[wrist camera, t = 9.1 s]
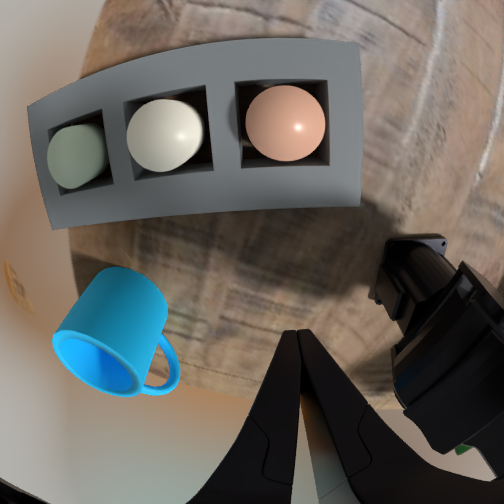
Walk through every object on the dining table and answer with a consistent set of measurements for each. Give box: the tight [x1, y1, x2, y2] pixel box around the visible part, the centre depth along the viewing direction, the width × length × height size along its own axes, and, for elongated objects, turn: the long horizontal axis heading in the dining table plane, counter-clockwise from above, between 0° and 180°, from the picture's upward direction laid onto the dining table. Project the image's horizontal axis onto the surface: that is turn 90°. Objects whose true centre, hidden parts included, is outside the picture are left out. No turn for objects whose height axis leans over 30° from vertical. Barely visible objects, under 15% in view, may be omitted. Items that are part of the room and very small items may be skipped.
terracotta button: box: [246, 85, 325, 161], centre depth 13 cm, size 4×4×2 cm
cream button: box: [127, 99, 205, 172], centre depth 14 cm, size 4×4×2 cm
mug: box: [52, 267, 180, 397], centre depth 21 cm, size 12×8×8 cm
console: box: [27, 38, 363, 230], centre depth 15 cm, size 22×10×3 cm, turn 94°
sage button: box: [47, 123, 110, 189], centre depth 14 cm, size 4×4×2 cm
